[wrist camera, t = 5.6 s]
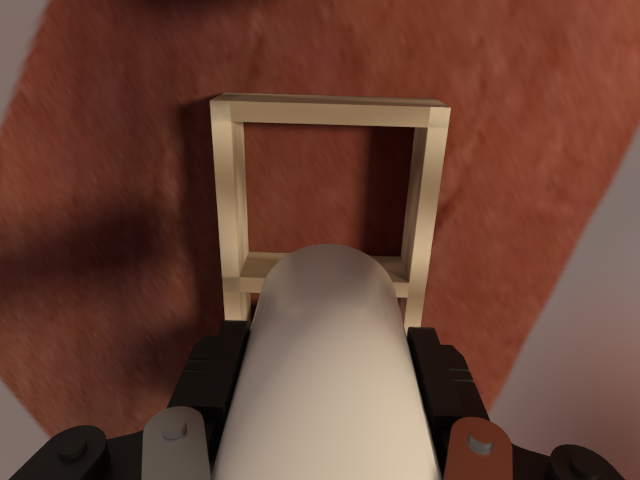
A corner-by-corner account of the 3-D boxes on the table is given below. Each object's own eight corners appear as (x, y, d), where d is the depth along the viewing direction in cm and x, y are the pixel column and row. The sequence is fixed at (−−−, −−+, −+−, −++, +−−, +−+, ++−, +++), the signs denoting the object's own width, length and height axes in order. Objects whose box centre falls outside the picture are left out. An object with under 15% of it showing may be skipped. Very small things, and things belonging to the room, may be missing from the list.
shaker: (403, 246, 15) (522, 595, 6) (390, 362, 17) (462, 762, 8) (257, 241, 15) (139, 581, 6) (261, 358, 17) (179, 750, 8)
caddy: (398, 398, 35) (405, 434, 32) (241, 392, 35) (232, 428, 32) (435, 98, 26) (450, 107, 23) (224, 92, 26) (209, 100, 23)
